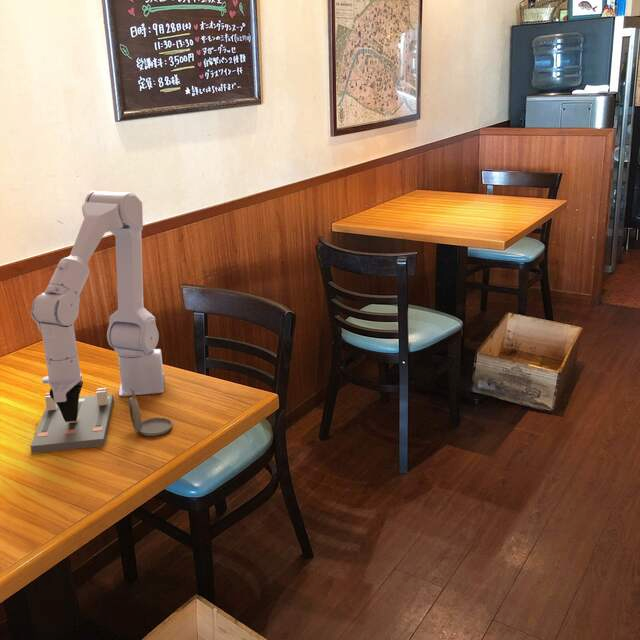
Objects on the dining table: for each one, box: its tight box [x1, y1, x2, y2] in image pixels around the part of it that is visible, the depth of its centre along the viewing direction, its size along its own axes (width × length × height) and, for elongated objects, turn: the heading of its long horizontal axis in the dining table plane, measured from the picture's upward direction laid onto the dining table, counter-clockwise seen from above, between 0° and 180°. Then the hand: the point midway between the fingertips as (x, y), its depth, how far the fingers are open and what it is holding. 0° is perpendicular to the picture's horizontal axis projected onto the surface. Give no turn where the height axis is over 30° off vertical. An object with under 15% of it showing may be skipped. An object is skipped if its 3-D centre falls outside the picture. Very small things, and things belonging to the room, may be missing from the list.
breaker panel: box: [30, 393, 115, 454], centre depth 137 cm, size 13×20×2 cm, turn 11°
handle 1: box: [44, 392, 58, 411], centre depth 140 cm, size 2×2×3 cm
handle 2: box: [95, 387, 108, 406], centre depth 142 cm, size 2×2×3 cm
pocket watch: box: [128, 387, 173, 437], centre depth 133 cm, size 8×8×10 cm
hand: (71, 419), depth 133 cm, fingers closed
